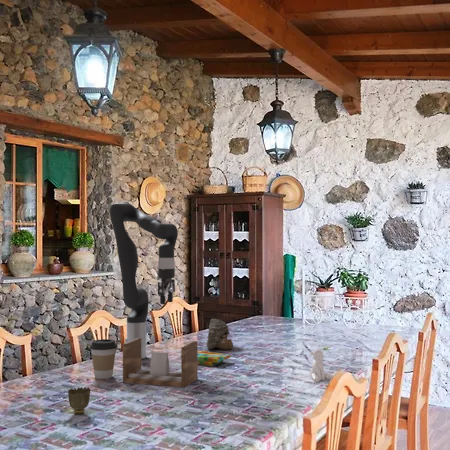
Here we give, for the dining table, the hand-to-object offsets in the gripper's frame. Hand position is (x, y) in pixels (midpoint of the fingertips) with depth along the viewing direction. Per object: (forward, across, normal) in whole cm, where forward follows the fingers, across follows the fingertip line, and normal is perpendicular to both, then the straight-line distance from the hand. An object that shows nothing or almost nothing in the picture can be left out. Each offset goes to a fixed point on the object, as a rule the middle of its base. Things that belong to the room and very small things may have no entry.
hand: (166, 303), depth 277 cm
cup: (+28, +76, +1) cm, 81 cm away
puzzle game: (+29, -10, +15) cm, 34 cm away
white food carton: (+27, +28, +9) cm, 40 cm away
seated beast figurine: (+28, +5, +70) cm, 76 cm away
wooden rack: (+28, +27, +9) cm, 40 cm away
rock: (+28, -43, +10) cm, 53 cm away
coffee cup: (+28, +29, -16) cm, 44 cm away
